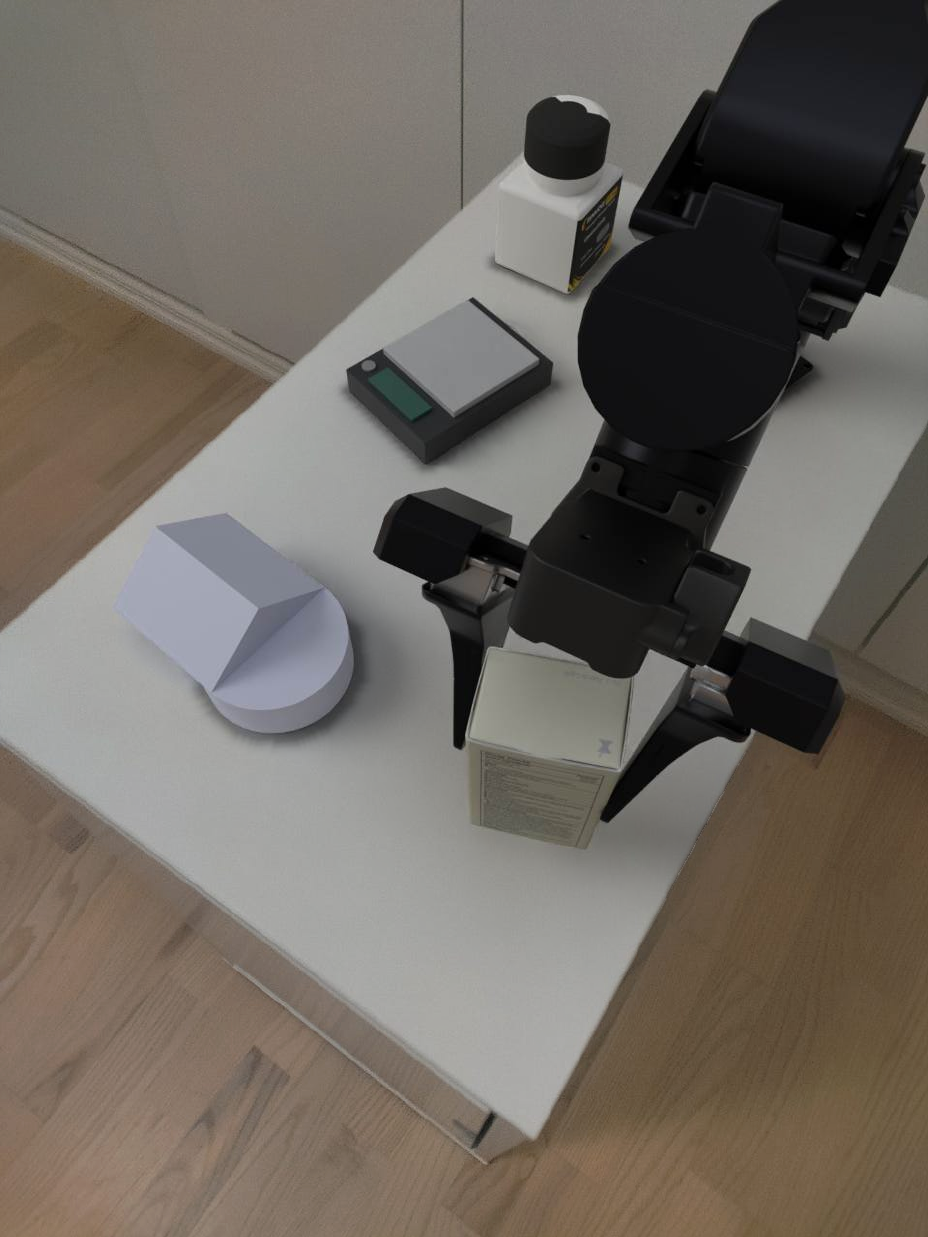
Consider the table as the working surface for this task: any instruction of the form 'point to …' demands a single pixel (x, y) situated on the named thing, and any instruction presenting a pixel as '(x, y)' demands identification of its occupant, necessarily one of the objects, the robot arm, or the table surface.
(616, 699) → the cosmetic box
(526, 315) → the table surface
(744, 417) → the robot arm
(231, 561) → the wedge on round base
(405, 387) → the kitchen scale
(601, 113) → the medicine bottle
